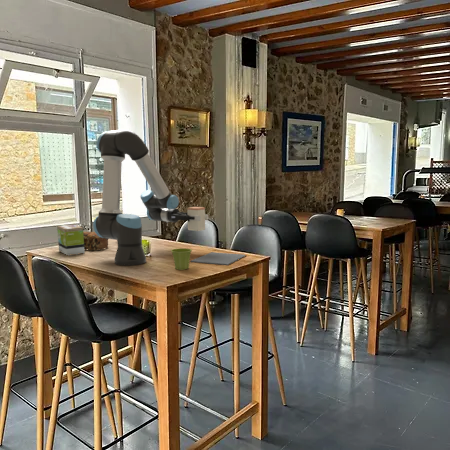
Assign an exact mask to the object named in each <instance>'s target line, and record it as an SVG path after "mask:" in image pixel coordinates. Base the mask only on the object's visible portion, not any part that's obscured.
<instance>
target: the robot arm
mask: <svg viewBox="0 0 450 450" xmlns="http://www.w3.org/2000/svg"><path fill="white" fill-rule="evenodd" d="M96 148H97V150H98V151H99V153H100V158H101V159H102V161H103V177H102V179H103V180H102V199H101V202H102V203H101V209H100V210H99V211H98V214H97V216H96V217H95V219H94V220H93V223H92V224H93V226H92V229H93V232H95V233H96V234H97V235H98V236H99V237H101V238H105V239H108V240H116V241H117V242H116V243H117V248H116V253H115V256H114V264H115V265H117V266H139V265H142V264H145V263H146V262H147V257H146V254H145V250H144V247H143V242H142V241H143V231H142V230H143V229H142V228H143V227H142V226H143V225H142V219H141V217H140V216H139V215H137V214H132V213H123V211H121V209H120V206H121V205H120V204H121V188H122V186H121V185H122V184H121V183H122V162H124V160H126V155H128V157H129V158H130V159H131V160H132V161H134V162H135V163H136V165H137V167H138V169H139V171H140V172H141V173H142V175H143V178H144V179H145V180H146V182H147V183H148V185H149V188H150V189H146V190H144V191H143V192H142V193H141V194H140V196H139V197H140V200H141V201H142V204H143V205H144V206H145V208H146V210H147V211H146V215H147V216H146V217H147V218H148V219H149V220H150V221H154V222H157V221H158V222H166V223H169V222H170V223H178V221H187V223H188V222H189V221H190V220H193V221H201V216H197V215H190V216H189V215H188V211H186V212H184V211H180V210H179V209H178V208H177V207H178V206H179V204H180V203H179V197H178V196H177V195H176V194H172V193H171V191H170V190H169V188H168V186H167V184H166V182H165V181H164V179H163V177H162V176H161V173H160V172H159V170H158V168H157V166H156V164H155V163H154V161H153V159H152V158H151V156H150V154H149V153H150V150H149V148H148V147H147V145H146V143H145V142H144V141H143V140H142V138H141V137H140V136H139V135H138V134H136V133H135V132H134V131H132V130H129V129H116V130H114V129H113V130H107V131H103V132H102V133H100V134H99V136H98V137H97V141H96ZM189 219H190V220H189ZM208 220H209V214H206V213H205V221H208Z"/></svg>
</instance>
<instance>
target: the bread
mask: <svg viewBox="0 0 450 450" xmlns="http://www.w3.org/2000/svg"><path fill="white" fill-rule="evenodd" d="M83 235H84V249H88V250H87V251H96V250H97V251H102V250H105V249H104V248H106V249H108V248H109V247H108V246H109V239H105V238H101V237H99V236H98V235H97V234H96V233H95V231H83ZM101 249H102V250H101Z"/></svg>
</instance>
